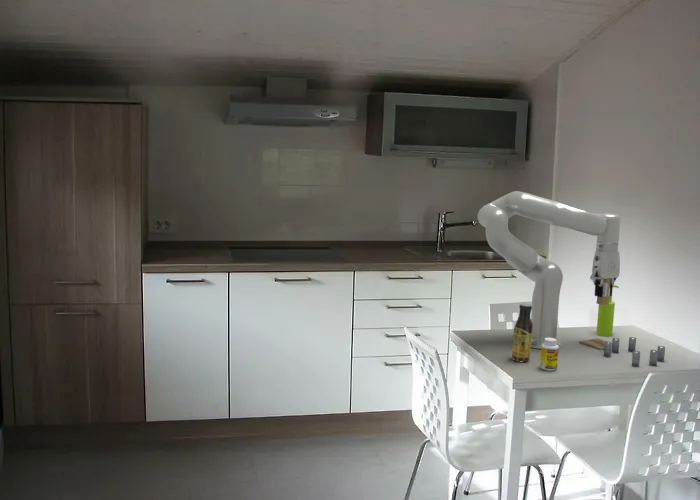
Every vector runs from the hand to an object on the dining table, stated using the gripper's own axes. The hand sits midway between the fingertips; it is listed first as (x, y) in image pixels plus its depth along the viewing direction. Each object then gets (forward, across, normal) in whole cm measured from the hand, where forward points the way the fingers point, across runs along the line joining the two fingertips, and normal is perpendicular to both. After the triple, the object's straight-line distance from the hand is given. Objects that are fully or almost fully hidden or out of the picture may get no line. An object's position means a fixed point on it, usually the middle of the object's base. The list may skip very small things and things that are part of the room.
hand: (603, 295), depth 260 cm
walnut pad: (+19, 0, 0) cm, 19 cm away
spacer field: (+19, -2, -17) cm, 26 cm away
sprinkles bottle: (+4, 0, 0) cm, 4 cm away
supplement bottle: (+19, -38, -12) cm, 44 cm away
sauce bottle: (+19, -40, -1) cm, 44 cm away
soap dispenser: (+19, +14, +9) cm, 26 cm away
